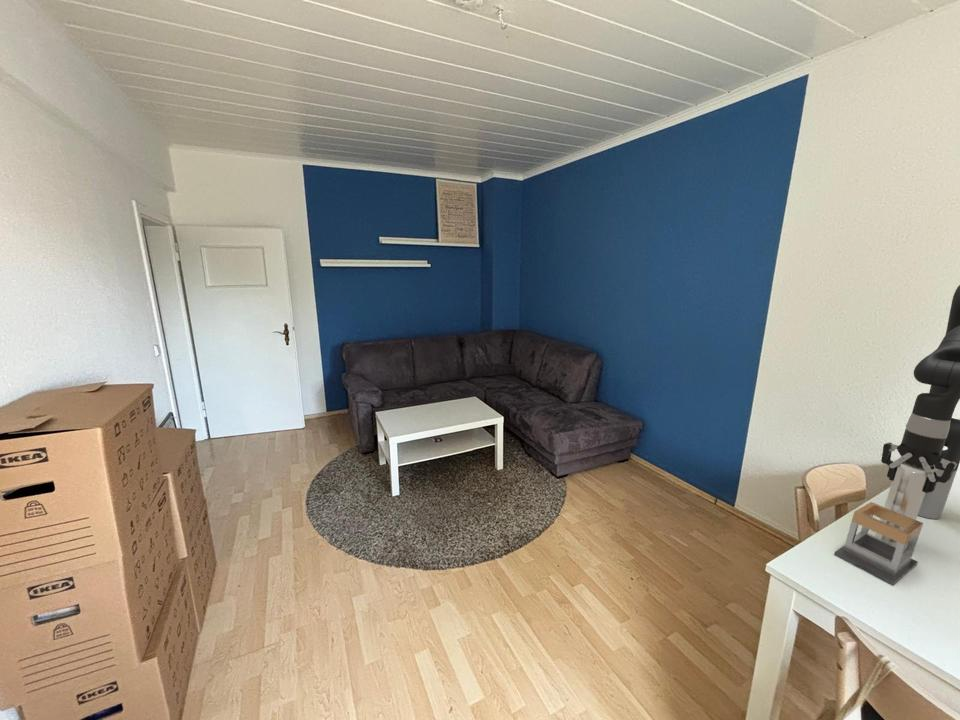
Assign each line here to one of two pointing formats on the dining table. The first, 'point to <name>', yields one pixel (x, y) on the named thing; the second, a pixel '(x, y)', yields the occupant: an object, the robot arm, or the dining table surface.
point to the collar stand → (881, 543)
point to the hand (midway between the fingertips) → (908, 485)
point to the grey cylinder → (905, 494)
